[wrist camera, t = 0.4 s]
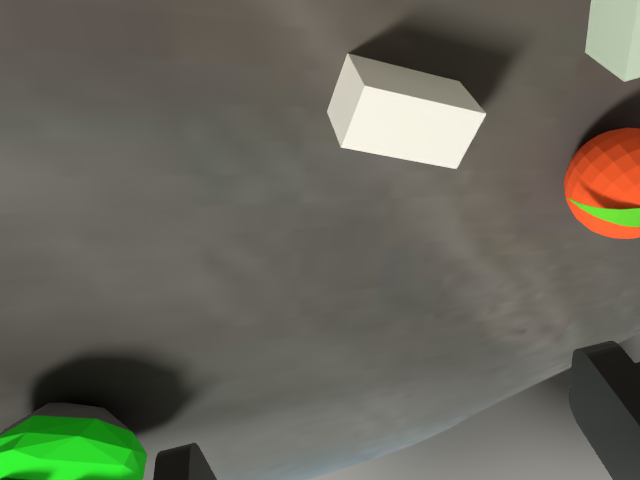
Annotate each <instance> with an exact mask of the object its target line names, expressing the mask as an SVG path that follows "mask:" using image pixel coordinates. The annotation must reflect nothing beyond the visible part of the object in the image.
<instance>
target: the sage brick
mask: <svg viewBox="0 0 640 480" xmlns="http://www.w3.org/2000/svg"><path fill="white" fill-rule="evenodd" d="M585 53H587V54H588V55H589V56H591V57H592V58H593V59H595V60H596V61H597V62H599V63H600V64H601V65H603V66H604V67H605V68H607V69H608V70H609V71H611V72H612V73H613V74H615V75H616V76H617V77H619V78H620V79H621V80H623V81H624V82H625V81H628V80H632V79H635V78H639V77H640V0H591V7H590V16H589V24H588V33H587V41H586V50H585Z"/></svg>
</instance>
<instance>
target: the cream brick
mask: <svg viewBox="0 0 640 480" xmlns="http://www.w3.org/2000/svg"><path fill="white" fill-rule="evenodd" d="M327 113H328V115H329V118H330V120H331V123H332V125H333V128H334V131H335V133H336V136H337V138H338V141H339V143H340V146H341V147H342V148H347V149H352V150H358V151H363V152H368V153H374V154H379V155H384V156H390V157H395V158H400V159H406V160H411V161H416V162H422V163H427V164H432V165H438V166H443V167H448V168H454V169H457V167H458V165H459V163H460V161H461V160H462V158H463V156H464V154H465V152H466V150H467V149H468V147H469V145H470V143H471V141H472V139H473V138H474V136H475V134H476V132H477V130H478V128H479V127H480V125H481V123H482V121H483V119H484V117H485V116H486V113H485V112H484V110H483V109H482V108H481V107H480V106H479V104H478V103H477V102H476V101H475V99H474V98H473V97H472V96H471V95H470V93H469V92H468V91H467V90H466V89H465V87H464V86H463V85H462V84H461V83H460V81H456V80H452V79H448V78H444V77H440V76H436V75H432V74H428V73H424V72H420V71H416V70H412V69H408V68H404V67H400V66H396V65H392V64H388V63H384V62H380V61H376V60H372V59H368V58H364V57H360V56H356V55H352V54H348V53H347V56H346V59H345V62H344V65H343V68H342V70H341V73H340V76H339V79H338V82H337V85H336V88H335V90H334V93H333V96H332V99H331V102H330V105H329V108H328V110H327Z"/></svg>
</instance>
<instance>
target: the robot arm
mask: <svg viewBox="0 0 640 480" xmlns="http://www.w3.org/2000/svg"><path fill="white" fill-rule="evenodd" d="M569 403H570V407H571V410H572V413H573V415H574V418H575V419H576V422H577V423H578V425H579V427H580V428H581V430H582V432H583V433H584V435H585V436H586V438H587V439H588V441H589V443H590V444H591V446H592V447H593V449H594V450H595V452H596V454H597V455H598V457H599V458H600V460H601V461H602V463H603V465H604V466H605V468H606V469H607V471H608V472H609V474H610V476H611V477H612V479H613V480H640V362H638V363H634V362H633V361H632V360H631V358H630V357H629V356H628V355H627V353H625V351H624V350H623V349H622V348H621V346H620V345H618V344H617V343H616V342H614V341H608V342H604V343H600V344H596V345H592V346H588V347H584V348H579V349H576V350H575V351H574V352H573V358H572V367H571V376H570V386H569ZM153 480H217V479H216V477H215V475H214V474H213V472H212V470H211V468H210V466H209V464H208V463H207V461H206V459H205V457H204V455H203V453H202V452H201V450H200V448H199V446H198V445H197V444H196V443H192V444H188V445H184V446H180V447H176V448H172V449H168V450H164V451H160V452H159V453H158V455H157V457H156V462H155V470H154V478H153Z"/></svg>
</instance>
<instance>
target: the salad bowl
mask: <svg viewBox="0 0 640 480" xmlns="http://www.w3.org/2000/svg"><path fill="white" fill-rule="evenodd" d="M146 458H147V453H146V452H145V450H144V449H143V447H142V446H141V444H140V443H139V441H138V440H137V438H136V437H135V435H134V434H133V432H132V431H131V430H130V429H128V428H127V427H126V426H125V425H124V424H122V423H121V422H120V421H119V420H118V419H117V418H115V417H114V416H113V415H112V414H111V413H109V412H108V411H107V410H106V409H105V408H101V407H94V406H87V405H80V404H72V403H65V402H62V403H48V404H46V405H45V406H43V407H41V408H40V409H38V410H36V411H35V412H33V413H31V414H30V415H28V416H26V417H25V418H23V419H21V420H20V421H18V422H16V423H15V424H13V425H11V426H10V427H8V428H6V429H5V430H4V431H3V432H2V433H0V480H142V479H143V475H144V469H145V464H146Z"/></svg>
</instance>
